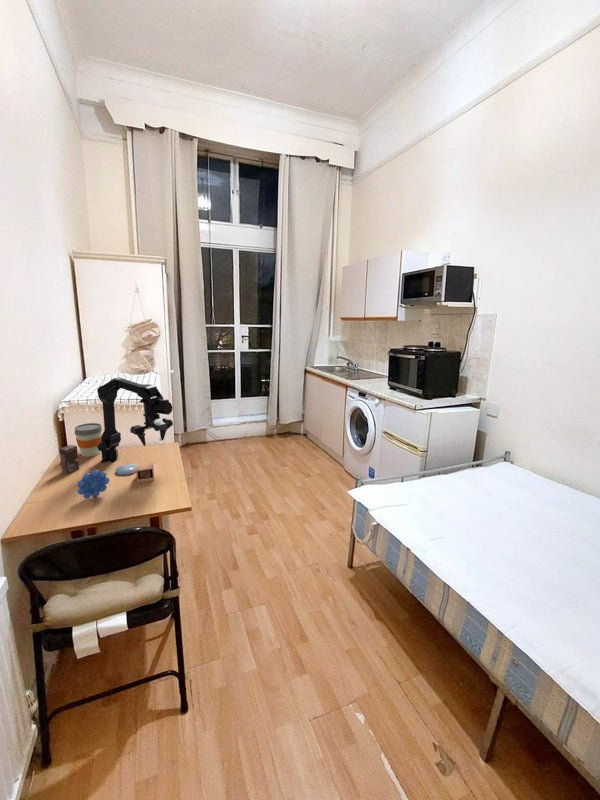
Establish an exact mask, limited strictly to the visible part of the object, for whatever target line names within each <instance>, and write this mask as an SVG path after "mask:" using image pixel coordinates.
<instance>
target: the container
mask: <svg viewBox="0 0 600 800" xmlns="http://www.w3.org/2000/svg"><path fill="white" fill-rule="evenodd" d="M135 464H136V473H135V474H136V482H137V483H146V482H149V481H155V472H154V470H155V469H154V462H153V461H148V462H141V463H135ZM143 470H150V475H152V477H150V478H145V479H141V478H139V477H141V474H140V471H143Z"/></svg>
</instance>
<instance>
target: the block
mask: <svg viewBox="0 0 600 800" xmlns="http://www.w3.org/2000/svg"><path fill="white" fill-rule="evenodd" d="M140 474H141V476H140V479H145V478H151V474H150V470H143V471H140Z"/></svg>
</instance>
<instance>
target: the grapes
mask: <svg viewBox="0 0 600 800" xmlns="http://www.w3.org/2000/svg"><path fill="white" fill-rule="evenodd" d="M109 483H110V478H109V477H107V472H106V471H101V472H100V470H98V469H94V470H92V471H91V473H90V472H86V473H85V474H84V475H83V476H82V479H80V480H79V481H78V482H77V487H78V489H77V494H78V495H80V496H81V495H83V496H82V497H83V498H84V499H89V498H90V497H92V498H97V497H99V496H100V493H104V492H105V491H107V485H108V484H109Z"/></svg>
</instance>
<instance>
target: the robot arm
mask: <svg viewBox="0 0 600 800" xmlns="http://www.w3.org/2000/svg"><path fill="white" fill-rule="evenodd" d="M157 387H158V386H156V385H154V384H143V383H142V384H141V383H138V382H134V381H132V380H129V379H125V378H123V377H120V376H119V377H115V378H112V379H110V381H108V382H106V383H104V384H103V385H100V386H99V387H97V390H96V391H97V398H98V399H99V401H101V402H102V412H103V414H102V415H103V426H104V427H103V433H101V434H102V437H101V443H100V444H99V445H98V446H97V448H98V450H99V451H101V453H100V454H101V459H102V460H101V461H100V462H101V463H109V462H110V463H111V462H116V461H117V460H118V457H119V450H118V449H117V447H119V445H120V443H121V440H122V436H121V432H118V430H117V428H116V413H115V401H116V400H117V397H118V391H120V390H121V389H122V390H126V391H129V392H132V393H134V394H136V395H137V396H138V397H139V398H141V399H140V400H139V403H143V410H144V411H143V414H142V415H143V417H144V421H145V422H143V426H142V425H140V424H137V425H134V426H133V425H132V426H131V427H130V429H129V430H130V433H131V434H133V435H135V436H137V437H138V439H139V440H140V442H141V443H142V445H143V446H144V447H146V437H145V436H146V432H145V430H146V431H147V430H150V429H154V431H155V432H159V436H160V440H161V441H163V442H164V439H165V436H166V434H167V431H168V429H170V428H171V427H172V426H173V425H174V423H173V420H172V419H170V418H168V417H164V418H161V416H160V415H171V414H172V412H173V405H172V403H171V402H170V400H169V399H165V398H164V397H163V395H162V393H161V392H160V390H159V389H158V388H157Z"/></svg>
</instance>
